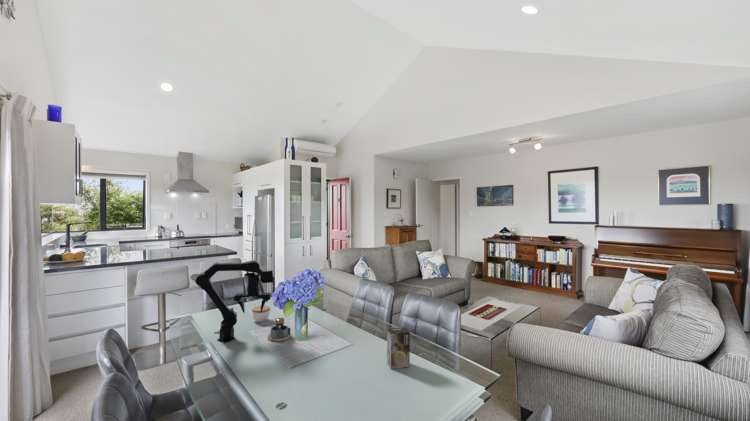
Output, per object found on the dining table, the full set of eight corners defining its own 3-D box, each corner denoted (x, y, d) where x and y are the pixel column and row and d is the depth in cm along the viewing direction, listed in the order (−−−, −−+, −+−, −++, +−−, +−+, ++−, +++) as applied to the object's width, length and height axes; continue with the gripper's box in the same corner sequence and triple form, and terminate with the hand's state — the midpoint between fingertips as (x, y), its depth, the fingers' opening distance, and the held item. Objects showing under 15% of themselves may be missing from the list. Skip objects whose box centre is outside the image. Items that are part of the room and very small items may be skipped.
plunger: (279, 338, 171) (280, 322, 171) (270, 336, 174) (270, 320, 174) (288, 334, 177) (288, 318, 177) (279, 332, 180) (279, 316, 180)
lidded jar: (266, 323, 195) (266, 308, 195) (248, 323, 195) (249, 308, 195) (272, 318, 206) (272, 303, 206) (255, 317, 206) (256, 302, 206)
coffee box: (404, 360, 151) (405, 327, 151) (409, 367, 145) (410, 332, 145) (386, 363, 149) (387, 328, 149) (390, 369, 143) (391, 333, 143)
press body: (280, 343, 168) (280, 333, 168) (262, 338, 173) (263, 329, 173) (295, 335, 178) (295, 326, 178) (278, 331, 184) (278, 322, 184)
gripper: (273, 280, 186) (272, 307, 186) (238, 280, 183) (238, 308, 183) (270, 285, 175) (269, 313, 175) (233, 285, 172) (233, 314, 172)
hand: (252, 312), depth 176 cm, fingers open, 9 cm apart
